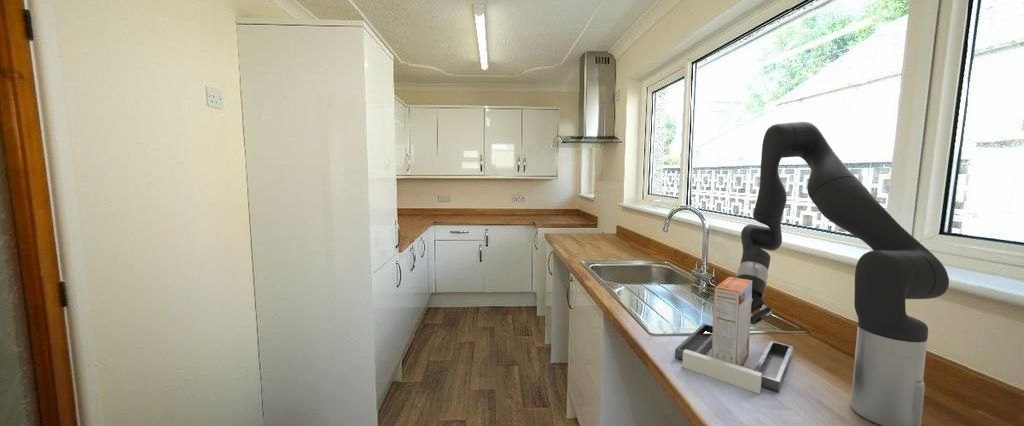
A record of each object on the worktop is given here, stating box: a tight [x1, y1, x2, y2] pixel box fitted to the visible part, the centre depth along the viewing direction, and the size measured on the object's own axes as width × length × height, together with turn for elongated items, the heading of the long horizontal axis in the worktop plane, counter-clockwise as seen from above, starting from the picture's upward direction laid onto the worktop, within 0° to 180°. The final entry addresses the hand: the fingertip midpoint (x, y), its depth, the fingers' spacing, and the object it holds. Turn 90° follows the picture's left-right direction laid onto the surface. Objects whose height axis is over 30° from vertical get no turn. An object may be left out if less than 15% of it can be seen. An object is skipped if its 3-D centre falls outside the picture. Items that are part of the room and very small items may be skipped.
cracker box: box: [711, 276, 752, 367], centre depth 90 cm, size 14×6×21 cm, turn 136°
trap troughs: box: [674, 323, 794, 393], centre depth 93 cm, size 22×24×2 cm
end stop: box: [681, 349, 762, 395], centre depth 83 cm, size 16×2×4 cm, turn 46°
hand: (738, 333), depth 96 cm, fingers closed
